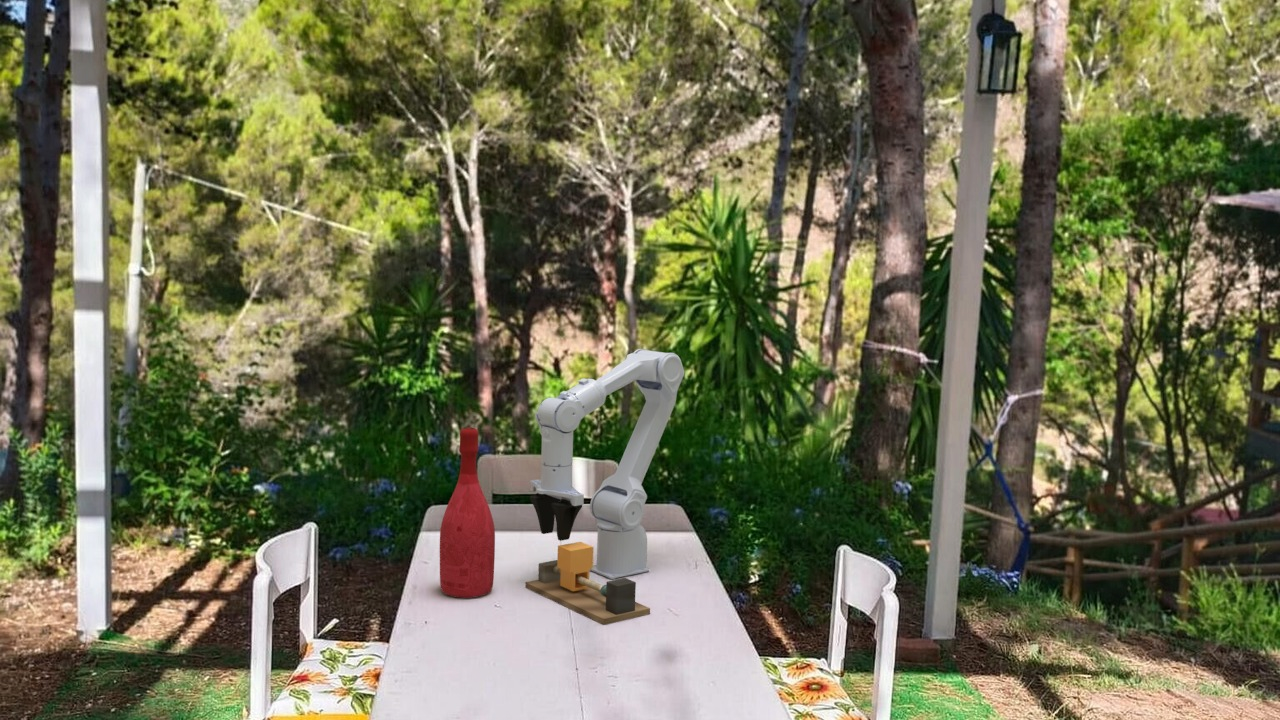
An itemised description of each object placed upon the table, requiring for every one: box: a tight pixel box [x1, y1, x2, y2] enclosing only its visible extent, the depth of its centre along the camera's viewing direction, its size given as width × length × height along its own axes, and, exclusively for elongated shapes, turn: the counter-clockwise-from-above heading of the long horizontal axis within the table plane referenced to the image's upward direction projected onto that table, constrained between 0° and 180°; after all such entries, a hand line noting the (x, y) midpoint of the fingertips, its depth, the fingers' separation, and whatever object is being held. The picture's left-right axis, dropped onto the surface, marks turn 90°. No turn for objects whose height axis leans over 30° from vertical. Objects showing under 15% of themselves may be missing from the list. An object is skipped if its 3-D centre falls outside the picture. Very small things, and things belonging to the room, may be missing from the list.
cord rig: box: [525, 559, 651, 626], centre depth 199 cm, size 24×10×6 cm, turn 39°
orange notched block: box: [557, 541, 594, 591], centre depth 202 cm, size 4×5×8 cm
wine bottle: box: [439, 427, 496, 599], centre depth 201 cm, size 10×10×30 cm
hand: (555, 536), depth 206 cm, fingers open, 5 cm apart
